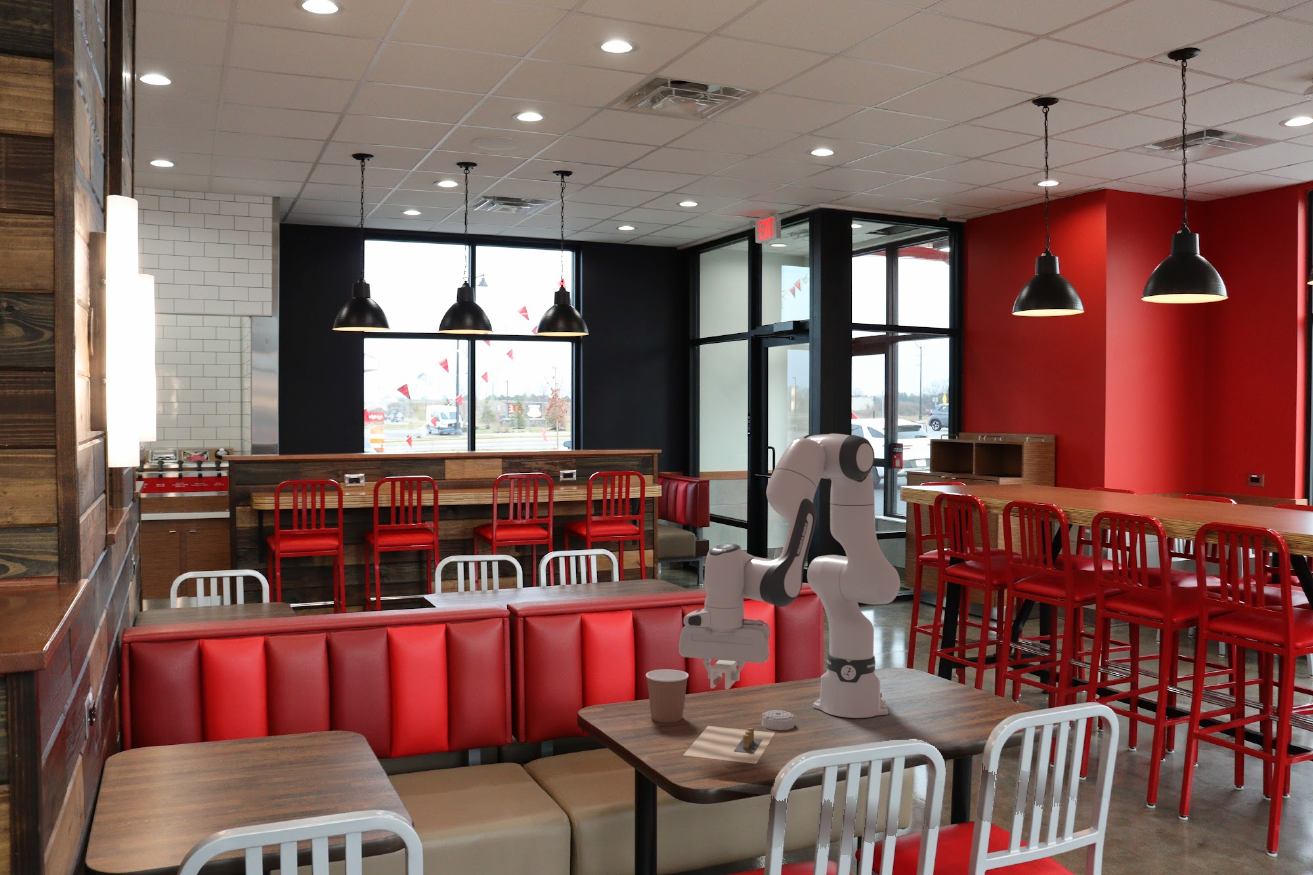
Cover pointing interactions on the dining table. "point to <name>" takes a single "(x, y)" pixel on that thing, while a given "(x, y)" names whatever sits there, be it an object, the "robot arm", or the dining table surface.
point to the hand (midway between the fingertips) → (723, 679)
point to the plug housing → (720, 668)
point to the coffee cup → (667, 694)
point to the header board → (730, 744)
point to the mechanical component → (777, 720)
